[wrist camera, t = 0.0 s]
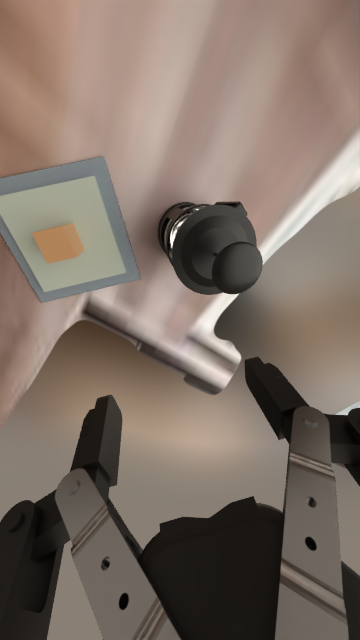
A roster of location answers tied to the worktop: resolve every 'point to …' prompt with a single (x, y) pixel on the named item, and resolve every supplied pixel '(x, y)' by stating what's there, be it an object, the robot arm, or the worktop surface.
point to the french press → (211, 247)
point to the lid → (63, 233)
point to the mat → (104, 182)
